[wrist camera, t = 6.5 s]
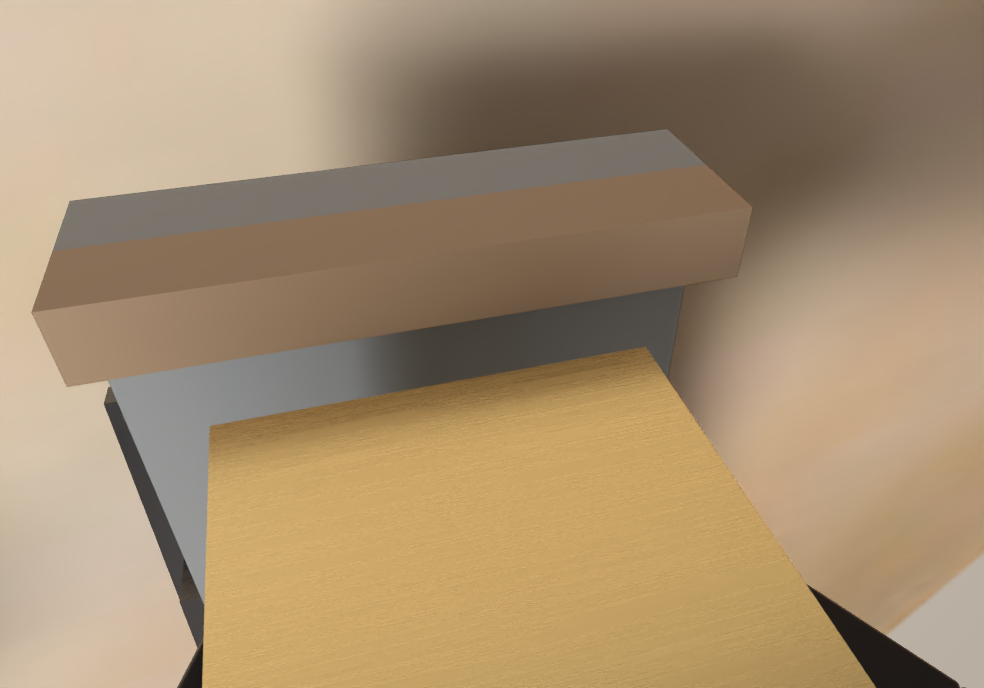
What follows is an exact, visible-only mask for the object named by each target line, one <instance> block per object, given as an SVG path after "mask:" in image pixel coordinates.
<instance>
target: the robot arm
mask: <svg viewBox="0 0 984 688" xmlns="http://www.w3.org/2000/svg"><path fill="white" fill-rule="evenodd" d="M806 585H807V584H806ZM807 586H808V588H809V589H810V591H811V592H812V594H813V595H814V596H815V598H816V599H817V601H818V602H819V604H820V605H821V607H822V608H823V610H824V611H825V613H826V614H827V616H828V617H829V619H830V620H831V622H832V623H833V625H834V626H835V628H836V629H837V631H838V632H839V633H840V635H841V636H842V638H843V639H844V641H845V642H846V644H847V645H848V647H849V648H850V650H851V651H852V653H853V654H854V656H855V657H856V659H857V660H858V662H859V663H860V665H861V666H862V668H863V669H864V670H865V672H866V673H867V675H868V676H869V678H870V679H871V681H872V682H873V684H874V685H875V687H876V688H960V686H959V684H958V683H957V682H956V681H955V680H953V679H952V678H950V677H948V676H947V675H946V674H944V673H942V672H941V671H939V670H938V669H936V668H935V667H933V666H932V665H930V664H929V663H927V662H925V661H924V660H923V659H921V658H919V657H917V656H916V655H915V654H913V653H912V652H910V651H909V650H907V649H906V648H904V647H902V646H901V645H899V644H898V643H896V642H895V641H893V640H892V639H890V638H889V637H887V636H886V635H884V634H883V633H881V632H880V631H878V630H876V629H875V628H873V627H872V626H870V625H869V624H867V623H866V622H864V621H863V620H861V619H860V618H858V617H857V616H855V615H853V614H852V613H850V612H849V611H847V610H846V609H844V608H843V607H841V606H840V605H838V604H837V603H835V602H833V601H832V600H830V599H829V598H827V597H826V596H824V595H823V594H821V593H820V592H818V591H817V590H815V589H814V588H812V587H810V586H809V585H807ZM203 640H204V637H203V639H202V641H201V643H200V645H199V647H198V649H197V651H196V653H195V655H194V656H193V658H192V660H191V662H190V664H189V666H188V668H187V670H186V672H185V674H184V676H183V678H182V680H181V682H180V683H179V685H178V687H177V688H202V675H203ZM962 688H965V687H962Z"/></svg>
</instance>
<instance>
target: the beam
mask: <svg viewBox="0 0 984 688" xmlns="http://www.w3.org/2000/svg"><path fill="white" fill-rule="evenodd" d="M752 209H753V207H752V206H751V205H750V204H749V203H748V202H747V201H745V200H744V199H743V198H742V197H741V196H740V195H739V194H738V193H737V192H736V191H735V190H733V189H732V188H731V187H730V186H729V185H728V184H727V183H726V182H725V181H724V180H723V179H721V178H720V177H719V176H718V175H717V174H716V173H715V172H714V171H713V170H712V169H711V168H709V167H708V166H707V165H706V164H705V163H704V162H703V161H702V160H701V159H700V158H699V157H698V156H696V155H695V154H694V153H693V152H692V151H691V150H690V149H689V148H688V147H687V146H686V145H684V144H683V143H682V142H681V141H680V140H679V139H678V138H677V137H676V136H675V135H674V134H672V133H671V132H670V131H669V130H668V129H662V130H654V131H646V132H638V133H629V134H621V135H613V136H604V137H596V138H588V139H580V140H571V141H563V142H555V143H546V144H538V145H530V146H522V147H513V148H505V149H497V150H489V151H480V152H472V153H464V154H455V155H447V156H439V157H431V158H422V159H414V160H406V161H397V162H389V163H381V164H373V165H364V166H356V167H348V168H339V169H331V170H323V171H315V172H306V173H298V174H290V175H281V176H273V177H265V178H257V179H248V180H240V181H232V182H224V183H215V184H207V185H199V186H190V187H182V188H174V189H166V190H157V191H149V192H141V193H132V194H124V195H116V196H108V197H99V198H91V199H83V200H74V201H70V202H69V205H68V208H67V211H66V214H65V217H64V219H63V222H62V225H61V228H60V231H59V234H58V237H57V240H56V243H55V246H54V249H53V251H52V254H51V257H50V260H49V263H48V266H47V269H46V272H45V275H44V278H43V281H42V283H41V286H40V289H39V292H38V295H37V298H36V301H35V304H34V307H33V310H32V315H33V317H34V319H35V321H36V323H37V325H38V327H39V329H40V331H41V333H42V336H43V338H44V340H45V342H46V344H47V346H48V348H49V350H50V352H51V354H52V357H53V359H54V361H55V363H56V365H57V367H58V369H59V371H60V373H61V375H62V378H63V380H64V382H65V384H66V386H67V387H70V386H76V385H82V384H88V383H94V382H100V381H106V380H108V381H109V384H110V386H111V388H112V391H113V393H114V395H115V398H116V400H117V402H118V405H119V407H120V409H121V412H122V414H123V416H124V419H125V421H126V423H127V426H128V428H129V430H130V433H131V435H132V437H133V440H134V442H135V444H136V447H137V449H138V451H139V454H140V456H141V458H142V461H143V463H144V465H145V468H146V470H147V472H148V475H149V477H150V479H151V482H152V484H153V486H154V489H155V491H156V493H157V496H158V498H159V500H160V503H161V505H162V507H163V510H164V512H165V514H166V517H167V519H168V521H169V524H170V526H171V528H172V531H173V533H174V535H175V538H176V540H177V542H178V545H179V547H180V549H181V552H182V554H183V556H184V559H185V561H186V563H187V566H188V568H189V571H190V573H191V575H192V578H193V580H194V582H195V585H196V587H197V589H198V592H199V594H200V596H201V599H202V601H203V603H204V606H205V571H206V537H207V502H208V468H209V433H210V426H213V425H218V424H224V423H229V422H235V421H240V420H245V419H251V418H256V417H262V416H267V415H273V414H278V413H284V412H289V411H295V410H300V409H306V408H311V407H317V406H322V405H328V404H333V403H339V402H344V401H350V400H355V399H361V398H366V397H372V396H377V395H383V394H388V393H394V392H399V391H405V390H410V389H416V388H421V387H427V386H432V385H438V384H443V383H449V382H454V381H460V380H465V379H471V378H476V377H482V376H487V375H493V374H498V373H503V372H509V371H514V370H520V369H525V368H531V367H536V366H542V365H547V364H553V363H558V362H564V361H569V360H575V359H580V358H586V357H591V356H597V355H602V354H608V353H613V352H619V351H624V350H630V349H635V348H641V347H646V348H647V349H648V351H649V352H650V354H651V355H652V357H653V358H654V360H655V361H656V363H657V364H658V366H659V367H660V369H661V370H662V372H663V373H664V375H665V376H666V377H667V379H668V374H669V369H670V363H671V358H672V352H673V346H674V341H675V335H676V330H677V324H678V319H679V313H680V308H681V302H682V297H683V291H684V286H685V285H690V284H696V283H702V282H708V281H714V280H720V279H726V278H733V277H737V274H738V270H739V266H740V261H741V257H742V253H743V248H744V244H745V240H746V235H747V231H748V227H749V222H750V218H751V213H752Z"/></svg>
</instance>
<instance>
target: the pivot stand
mask: <svg viewBox="0 0 984 688" xmlns="http://www.w3.org/2000/svg"><path fill="white" fill-rule="evenodd" d="M104 405H105V408H106V411H107V413H108V416H109V418H110V421H111V423H112V426H113V429H114V431H115V434H116V436H117V439H118V442H119V444H120V447H121V449H122V452H123V454H124V457H125V460H126V462H127V465H128V467H129V470H130V472H131V475H132V478H133V480H134V483H135V485H136V488H137V491H138V493H139V496H140V498H141V501H142V503H143V506H144V509H145V511H146V514H147V516H148V519H149V521H150V524H151V527H152V529H153V532H154V534H155V537H156V540H157V542H158V545H159V547H160V550H161V552H162V555H163V558H164V560H165V563H166V565H167V568H168V570H169V573H170V576H171V578H172V581H173V583H174V586H175V588H176V591H177V594H178V596H179V599H180V604H181V607H182V609H183V612H184V614H185V617H186V619H187V622H188V625H189V627H190V630H191V632H192V635H193V637H194V640H195V643H196V645H197V648H198V647H199V645H200V643H201V641H202V639H203V637H204V603H203V601H202V599H201V596H200V594H199V592H198V589H197V587H196V585H195V582H194V580H193V578H192V575H191V573H190V571H189V568H188V566H187V563H186V561H185V559H184V556H183V554H182V552H181V549H180V547H179V545H178V542H177V540H176V538H175V535H174V533H173V531H172V528H171V526H170V524H169V521H168V519H167V517H166V514H165V512H164V510H163V507H162V505H161V503H160V500H159V498H158V496H157V493H156V491H155V489H154V486H153V484H152V482H151V479H150V477H149V475H148V472H147V470H146V468H145V465H144V463H143V461H142V458H141V456H140V454H139V451H138V449H137V447H136V444H135V442H134V440H133V437H132V435H131V433H130V430H129V428H128V426H127V423H126V421H125V419H124V416H123V414H122V412H121V409H120V407H119V405H118V402H117V400H116V398H115V395H114V393H113V391H112V388H111V387H108V391H107V394H106V398H105V401H104Z"/></svg>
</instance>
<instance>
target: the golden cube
mask: <svg viewBox="0 0 984 688" xmlns="http://www.w3.org/2000/svg"><path fill="white" fill-rule="evenodd" d="M202 688H876V687H875V685H874V684H873V682H872V681H871V679H870V678H869V676H868V675H867V673H866V672H865V670H864V669H863V668H862V666H861V665H860V663H859V662H858V660H857V659H856V657H855V656H854V654H853V653H852V651H851V650H850V648H849V647H848V645H847V644H846V642H845V641H844V639H843V638H842V636H841V635H840V633H839V632H838V631H837V629H836V628H835V626H834V625H833V623H832V622H831V620H830V619H829V617H828V616H827V614H826V613H825V611H824V610H823V608H822V607H821V605H820V604H819V602H818V601H817V599H816V598H815V596H814V595H813V594H812V592H811V591H810V589H809V588H808V586H807V585H806V583H805V582H804V580H803V579H802V577H801V576H800V574H799V573H798V571H797V570H796V568H795V567H794V565H793V564H792V562H791V561H790V560H789V558H788V557H787V555H786V554H785V552H784V551H783V549H782V548H781V546H780V545H779V543H778V542H777V540H776V539H775V537H774V536H773V534H772V533H771V531H770V530H769V528H768V527H767V525H766V524H765V523H764V521H763V520H762V518H761V517H760V515H759V514H758V512H757V511H756V509H755V508H754V506H753V505H752V503H751V502H750V500H749V499H748V497H747V496H746V494H745V493H744V491H743V490H742V488H741V487H740V486H739V484H738V483H737V481H736V480H735V478H734V477H733V475H732V474H731V472H730V471H729V469H728V468H727V466H726V465H725V463H724V462H723V460H722V459H721V457H720V456H719V454H718V453H717V451H716V450H715V449H714V447H713V446H712V444H711V443H710V441H709V440H708V438H707V437H706V435H705V434H704V432H703V431H702V429H701V428H700V426H699V425H698V423H697V422H696V420H695V419H694V417H693V416H692V414H691V413H690V412H689V410H688V409H687V407H686V406H685V404H684V403H683V401H682V400H681V398H680V397H679V395H678V394H677V392H676V391H675V389H674V388H673V386H672V385H671V383H670V382H669V380H668V379H667V377H666V376H665V375H664V373H663V372H662V370H661V369H660V367H659V366H658V364H657V363H656V361H655V360H654V358H653V357H652V355H651V354H650V352H649V351H648V349H647V348H646V347H641V348H635V349H630V350H624V351H619V352H613V353H608V354H602V355H597V356H591V357H586V358H580V359H575V360H569V361H564V362H558V363H553V364H547V365H542V366H536V367H531V368H525V369H520V370H514V371H509V372H503V373H498V374H493V375H487V376H482V377H476V378H471V379H465V380H460V381H454V382H449V383H443V384H438V385H432V386H427V387H421V388H416V389H410V390H405V391H399V392H394V393H388V394H383V395H377V396H372V397H366V398H361V399H355V400H350V401H344V402H339V403H333V404H328V405H322V406H317V407H311V408H306V409H300V410H295V411H289V412H284V413H278V414H273V415H267V416H262V417H256V418H251V419H245V420H240V421H235V422H229V423H224V424H218V425H213V426H210V433H209V468H208V502H207V537H206V571H205V606H204V640H203V675H202Z"/></svg>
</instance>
